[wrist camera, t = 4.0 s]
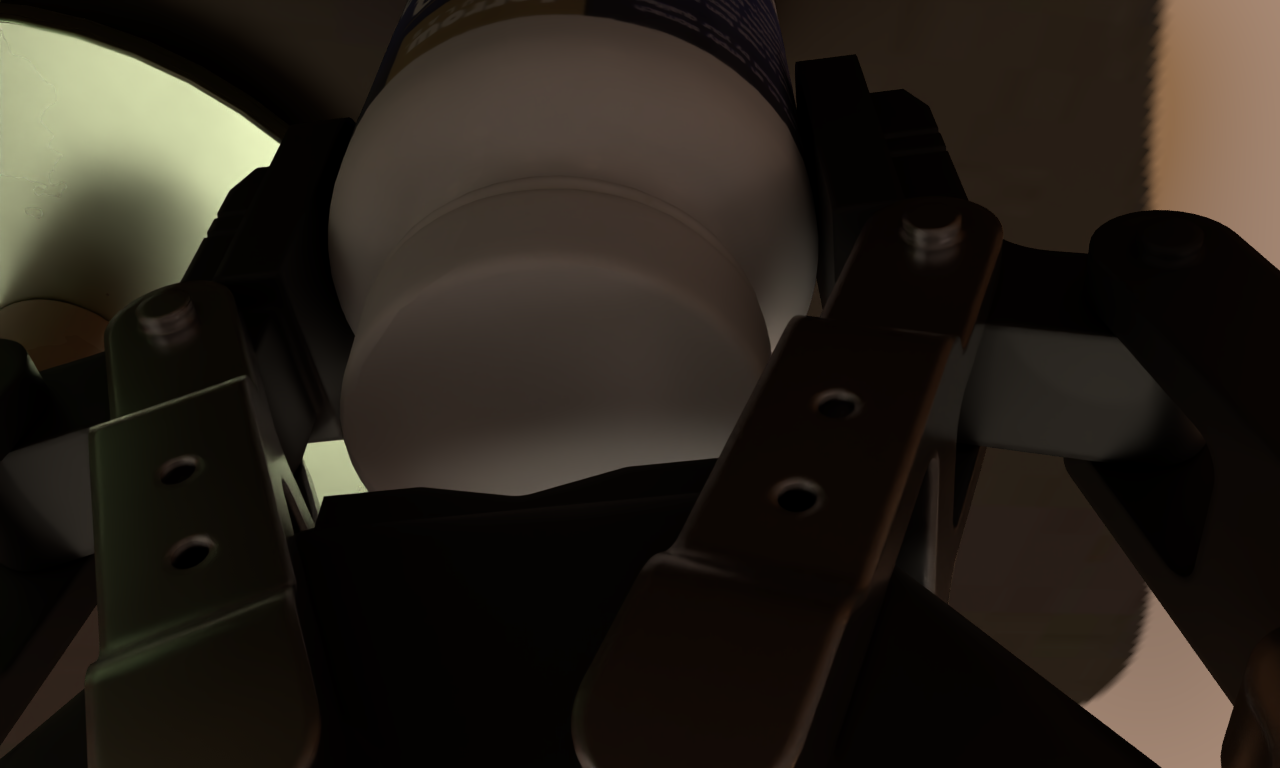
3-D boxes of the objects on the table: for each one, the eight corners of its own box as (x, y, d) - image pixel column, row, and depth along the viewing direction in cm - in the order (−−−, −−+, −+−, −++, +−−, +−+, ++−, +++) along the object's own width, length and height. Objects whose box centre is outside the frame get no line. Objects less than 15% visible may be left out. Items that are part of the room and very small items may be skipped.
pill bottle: (581, -257, 16) (523, 37, 8) (842, 11, 18) (986, 434, 11) (350, 25, 18) (142, 453, 11) (606, 230, 21) (585, 698, 13)
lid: (-411, 298, 22) (-712, 548, 17) (-66, -209, 16) (-367, -54, 11) (181, 633, 28) (84, 887, 23) (576, 345, 22) (558, 599, 17)
